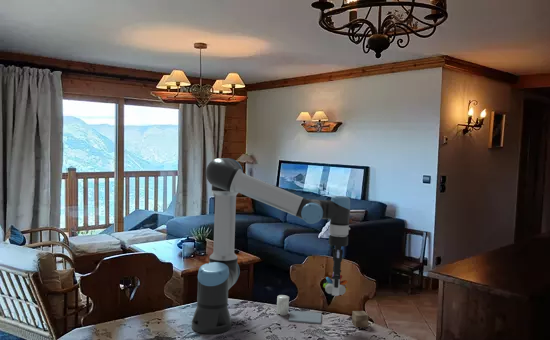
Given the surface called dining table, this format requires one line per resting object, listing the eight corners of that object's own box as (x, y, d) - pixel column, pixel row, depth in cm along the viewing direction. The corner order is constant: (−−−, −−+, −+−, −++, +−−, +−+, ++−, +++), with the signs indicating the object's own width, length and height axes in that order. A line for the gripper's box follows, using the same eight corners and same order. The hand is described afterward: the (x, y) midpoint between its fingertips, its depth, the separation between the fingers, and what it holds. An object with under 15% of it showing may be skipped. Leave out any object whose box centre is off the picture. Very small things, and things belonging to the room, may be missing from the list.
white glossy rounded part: (275, 314, 183) (276, 298, 183) (277, 310, 188) (277, 294, 188) (287, 315, 183) (288, 299, 182) (288, 311, 188) (289, 295, 187)
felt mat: (288, 321, 176) (288, 319, 176) (291, 312, 187) (291, 310, 187) (320, 324, 175) (320, 322, 175) (321, 314, 186) (321, 313, 186)
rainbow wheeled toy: (347, 296, 168) (348, 278, 168) (322, 294, 170) (323, 275, 170) (347, 290, 177) (348, 272, 177) (323, 288, 178) (324, 270, 178)
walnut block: (355, 327, 173) (356, 315, 172) (351, 323, 178) (352, 311, 177) (367, 327, 173) (368, 315, 173) (363, 323, 178) (364, 310, 178)
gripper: (349, 240, 162) (345, 301, 162) (347, 231, 183) (344, 285, 183) (329, 239, 163) (325, 299, 163) (329, 230, 184) (326, 283, 184)
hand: (335, 291), depth 173 cm, fingers closed on rainbow wheeled toy, 8 cm apart
